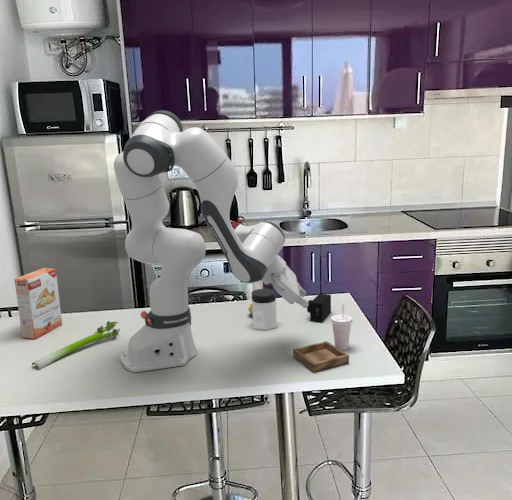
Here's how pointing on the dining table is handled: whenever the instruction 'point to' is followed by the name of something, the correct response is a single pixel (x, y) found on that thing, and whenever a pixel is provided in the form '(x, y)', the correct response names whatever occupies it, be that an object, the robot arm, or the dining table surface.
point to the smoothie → (341, 329)
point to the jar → (264, 309)
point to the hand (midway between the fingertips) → (305, 300)
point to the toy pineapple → (251, 309)
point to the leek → (77, 345)
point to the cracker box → (38, 302)
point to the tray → (320, 356)
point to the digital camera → (319, 308)
